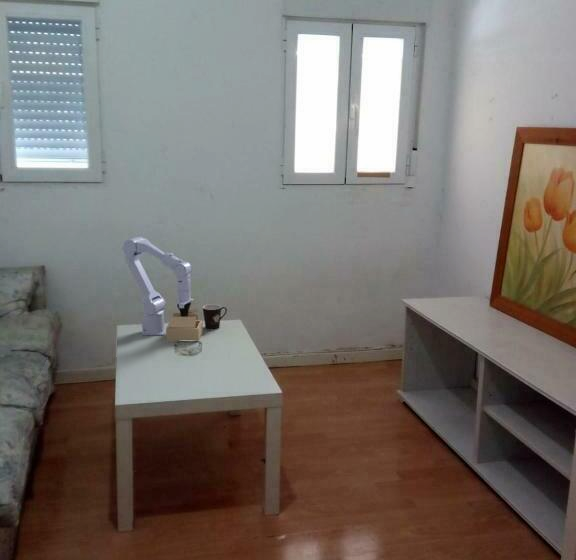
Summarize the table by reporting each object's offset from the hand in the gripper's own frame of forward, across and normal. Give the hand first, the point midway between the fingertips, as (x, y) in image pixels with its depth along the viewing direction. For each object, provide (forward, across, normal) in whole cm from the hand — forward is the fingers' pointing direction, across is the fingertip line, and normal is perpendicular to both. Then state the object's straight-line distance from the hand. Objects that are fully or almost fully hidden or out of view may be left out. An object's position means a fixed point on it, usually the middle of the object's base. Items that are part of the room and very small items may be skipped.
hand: (184, 319), depth 281 cm
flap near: (0, -5, 0) cm, 5 cm away
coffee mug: (+8, +13, -12) cm, 19 cm away
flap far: (0, +3, 0) cm, 3 cm away
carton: (+8, -1, 0) cm, 8 cm away
